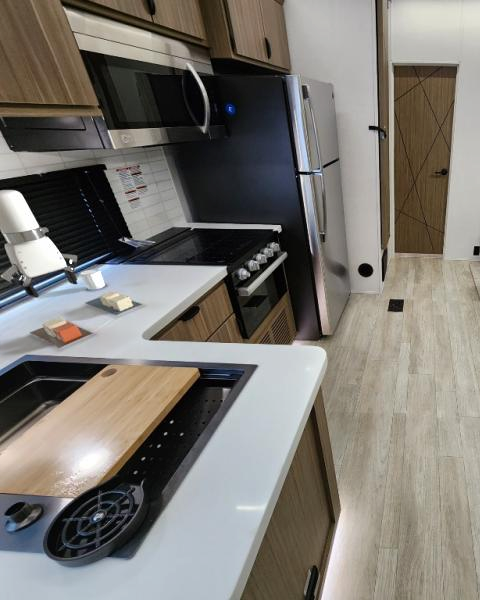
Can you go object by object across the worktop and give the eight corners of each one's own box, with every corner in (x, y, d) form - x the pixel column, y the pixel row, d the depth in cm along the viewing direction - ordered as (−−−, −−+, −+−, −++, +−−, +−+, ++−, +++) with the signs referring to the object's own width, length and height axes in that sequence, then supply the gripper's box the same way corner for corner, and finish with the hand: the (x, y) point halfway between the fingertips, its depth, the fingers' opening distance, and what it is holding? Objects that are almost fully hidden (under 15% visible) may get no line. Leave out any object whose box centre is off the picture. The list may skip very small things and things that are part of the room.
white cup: (105, 282, 146) (98, 267, 143) (107, 286, 142) (100, 271, 139) (85, 286, 142) (77, 272, 139) (87, 291, 138) (79, 276, 134)
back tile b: (109, 307, 125) (105, 298, 123) (103, 304, 126) (98, 295, 125) (122, 302, 128) (118, 293, 126) (116, 299, 130) (112, 290, 128)
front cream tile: (54, 337, 107) (47, 326, 105) (47, 334, 109) (41, 323, 107) (71, 330, 111) (65, 320, 109) (64, 327, 113) (58, 317, 111)
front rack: (93, 334, 110) (93, 333, 109) (60, 349, 102) (59, 347, 102) (63, 321, 117) (62, 319, 117) (29, 334, 110) (29, 332, 110)
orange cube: (65, 342, 105) (58, 332, 103) (58, 339, 106) (51, 328, 104) (82, 335, 108) (76, 325, 106) (75, 332, 110) (69, 321, 108)
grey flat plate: (143, 305, 127) (142, 304, 127) (117, 316, 120) (116, 315, 120) (110, 294, 135) (110, 293, 135) (84, 304, 128) (84, 302, 128)
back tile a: (120, 311, 122) (115, 301, 120) (113, 308, 124) (109, 299, 122) (133, 305, 126) (129, 296, 124) (126, 303, 127) (122, 294, 125)
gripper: (55, 226, 102) (81, 277, 110) (-25, 243, 88) (11, 300, 96) (68, 229, 99) (94, 280, 107) (-12, 247, 85) (24, 304, 94)
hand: (55, 289), depth 102 cm, fingers open, 9 cm apart
